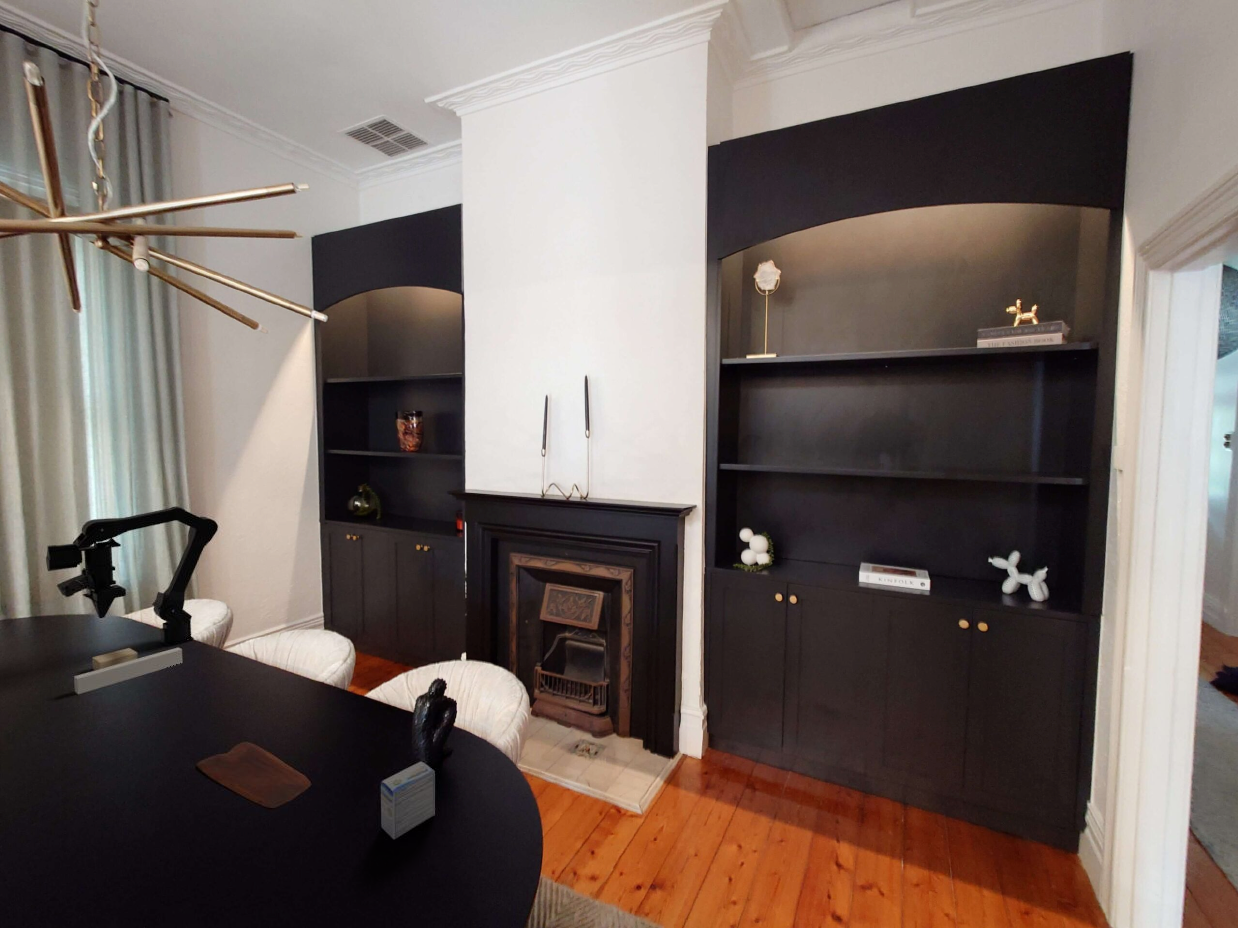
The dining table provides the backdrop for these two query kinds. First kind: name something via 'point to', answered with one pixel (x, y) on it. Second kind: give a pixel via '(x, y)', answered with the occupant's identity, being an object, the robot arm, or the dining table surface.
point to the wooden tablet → (255, 775)
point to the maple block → (114, 658)
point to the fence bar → (126, 670)
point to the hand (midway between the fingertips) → (101, 617)
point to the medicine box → (407, 799)
